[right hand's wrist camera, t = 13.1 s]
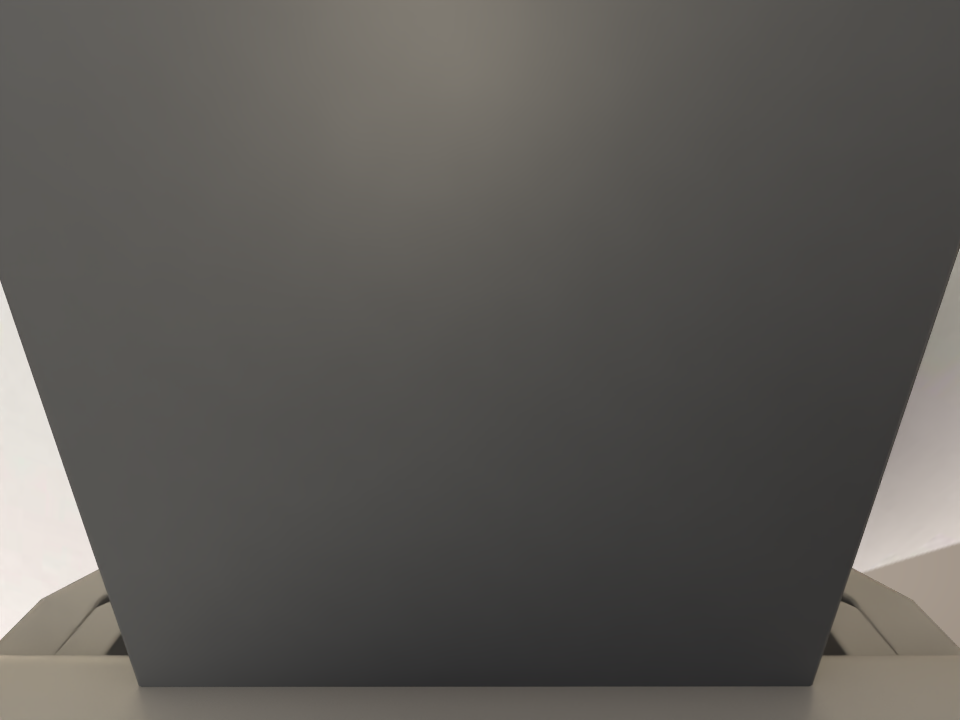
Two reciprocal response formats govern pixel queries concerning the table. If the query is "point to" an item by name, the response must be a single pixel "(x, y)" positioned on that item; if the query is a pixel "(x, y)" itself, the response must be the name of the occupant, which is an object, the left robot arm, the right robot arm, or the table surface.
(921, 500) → the table surface
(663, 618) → the box
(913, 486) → the table surface
